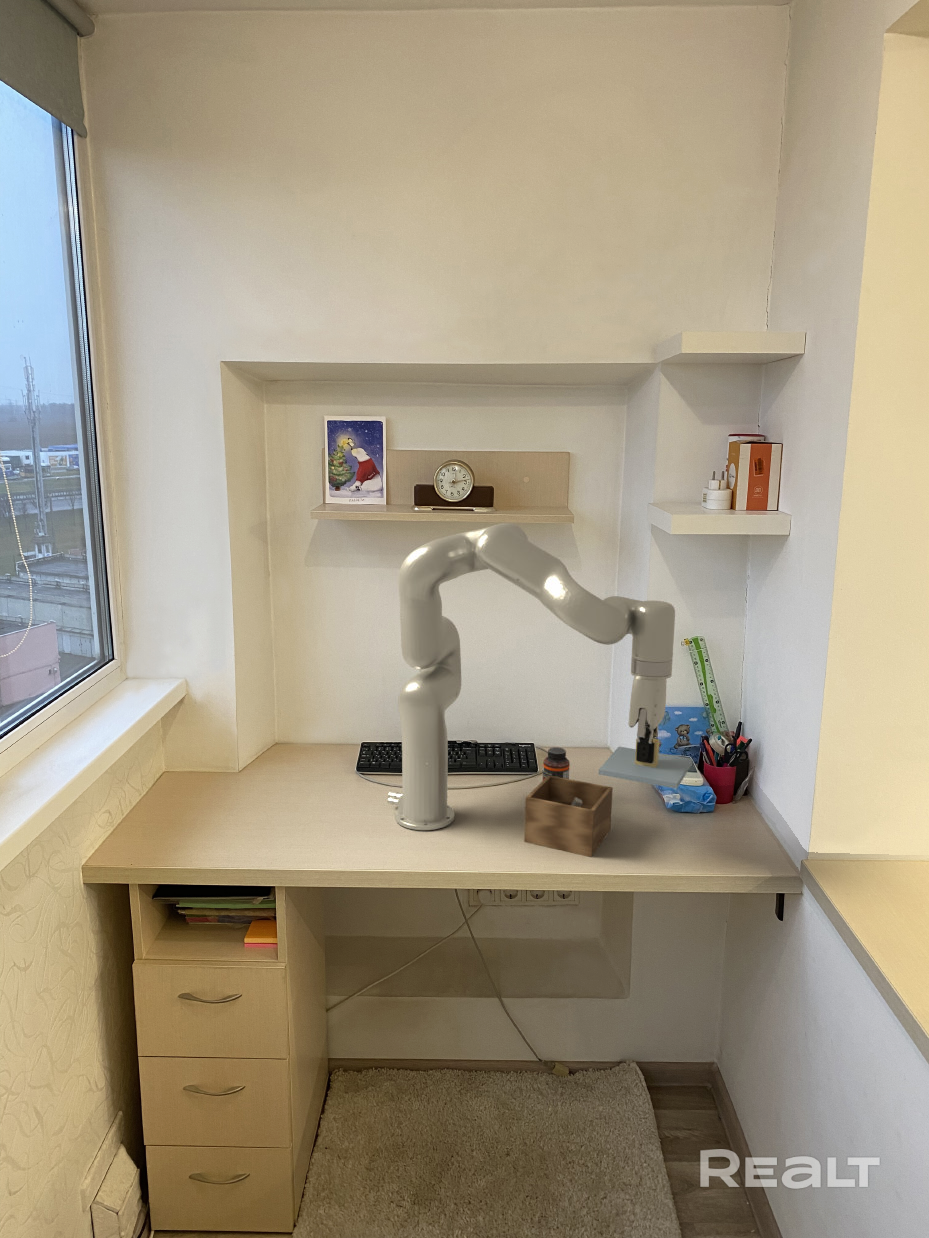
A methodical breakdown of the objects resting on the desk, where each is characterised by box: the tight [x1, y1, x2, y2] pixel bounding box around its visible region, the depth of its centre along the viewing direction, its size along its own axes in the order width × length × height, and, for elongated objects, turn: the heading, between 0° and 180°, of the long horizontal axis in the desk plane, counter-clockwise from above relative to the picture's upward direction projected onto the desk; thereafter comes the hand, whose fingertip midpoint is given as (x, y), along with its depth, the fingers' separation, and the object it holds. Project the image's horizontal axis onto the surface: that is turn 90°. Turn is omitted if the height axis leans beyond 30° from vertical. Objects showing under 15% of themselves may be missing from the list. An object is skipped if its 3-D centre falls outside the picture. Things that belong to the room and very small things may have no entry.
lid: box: [598, 738, 694, 790], centre depth 165 cm, size 15×14×6 cm
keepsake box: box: [523, 775, 613, 858], centre depth 175 cm, size 14×13×10 cm
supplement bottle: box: [541, 746, 571, 782], centre depth 194 cm, size 6×6×11 cm
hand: (646, 758), depth 165 cm, fingers closed on lid
